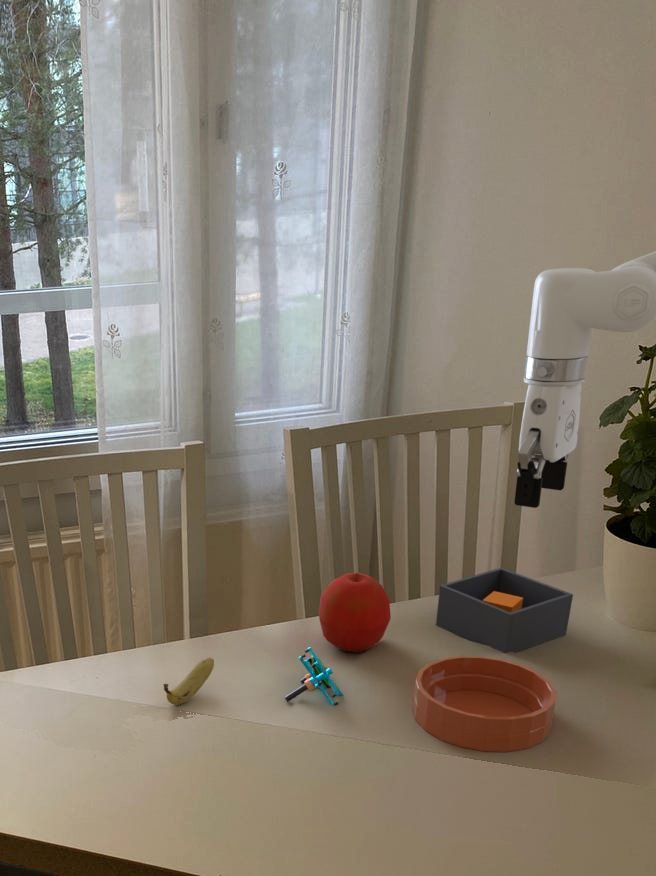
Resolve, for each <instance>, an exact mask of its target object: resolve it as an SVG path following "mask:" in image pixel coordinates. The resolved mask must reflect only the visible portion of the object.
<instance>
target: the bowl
mask: <svg viewBox="0 0 656 876" xmlns="http://www.w3.org/2000/svg"><path fill="white" fill-rule="evenodd" d="M556 699H557V690H556V689H555V688H554V685H553V684H552V683H551V681H550V680H549V679H547V678H546V677H545V676H544V675H543V674H541V673H539V672H538V671H536V670H534V669H532V668H529V667H527V666H525V665H523V664H521V663H517V662H513V661H511V660H506V659H503V658H497V657H490V656H484V655H456V656H448V657H442V658H439V659H436V660H434V661H430V662H428V663H427V664H425V665H424V666H423V667H421V668H420V669H419V670H418V672H417V674H416V677H415V680H414V691H413V700H412V701H413V702H412V713H413V716H414V720H415V721H416V722H417V724H418V725H419V726H420V727H421V728H422V729H423V731H426V732H427V733H429V734H431V736H433V737H435V738H437V739H438V740H441V741H443V742H446V743H448V744H451V745H455V746H458V747H460V748H465V749H470V750H476V751H481V752H491V753H492V752H495V753H496V752H497V753H509V752H516V751H522V750H527V749H529V748H532V747H534V746H537V745H538V744H541V743H542V742H543V741H544V740H545V739H546V738H547V737H548V736H549V735H550V734H551V729H552V723H553V717H554V712H555V708H556V707H555V705H556Z"/></svg>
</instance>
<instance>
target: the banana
mask: <svg viewBox="0 0 656 876" xmlns="http://www.w3.org/2000/svg"><path fill="white" fill-rule="evenodd" d="M214 666H215V659H213V658H211V657H207V658H204V659H202V660H201V661H199V662H198V663H197V664H196V665H195V666H193V669H192V670H191V671H190V672H189V673H188V675H187V676H186V677H185V678H184V679H183V680H182V681H181V682H180V683H178V685H177V686H176V687H175V688H173V689H172V690H169V684H168V683H163V691H165V693H166V699H167V701H168V703H169V704H170V705H173V706H177V705H178V706H179V705H182V704H184V703H186V702H187V701H189V700H190V699H191V698H193V697H194V696H195V695H196V694H197V693H198V691H199V690H200V689H201V688H202V687H203V686H204V684H205V682H206V681H207V680H208V679H209V677H210V675H211V674H212V673H213V670H214Z"/></svg>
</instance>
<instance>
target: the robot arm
mask: <svg viewBox="0 0 656 876" xmlns="http://www.w3.org/2000/svg"><path fill="white" fill-rule="evenodd" d="M532 292H533V293H532V302H531V312H530V319H529V327H528V328H529V329H528V336H527V337H528V339H527V340H528V341H527V347H526V356H525V367H524V374H523V382H524V383H525V384H527V385H528V386H527V391H526V395H525V401H524V406H523V412H522V418H521V426H520V431H519V440H518V462H517V470H516V483H515V486H516V487H515V493H514V500H513V501H514V505H515V506H520V507H527V508H532V509H537V508H538V507H540V504H541V495H542V489H545V490H554V491H562V490H564V488H565V484H566V477H567V467H568V460H569V456H570V453H572V452H573V451H574V450H575V449H576V448H577V445H578V444H577V443H578V438H579V437H578V436H579V428H580V427H579V426H580V417H581V401H582V384H585V382H586V377H587V368H588V362H589V354H590V347H591V340H592V334H593V333H592V332H593V329H596V330H603V331H610V332H611V331H612V332H618V333H633V332H637V331H641V330H643V329H645V328H648V327H649V326H650V325H651V324H653V323H654V322H655V321H656V250H655V251H652V252H650V253H647V254H645V255H641V256H639V257H635V258H634V259H632V260H629V261H626V262H624V263H622V264H619V265H617V266H616V267H614V268H613V269H611V270H605V271H595V270H593V269H591V268H585V267H562V268H561V267H560V268H550V269H546V270H543V271H541V272H540V273H538V274H537V277H536V278H535V281H534V286H533V291H532ZM535 463H536V465H535Z"/></svg>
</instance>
